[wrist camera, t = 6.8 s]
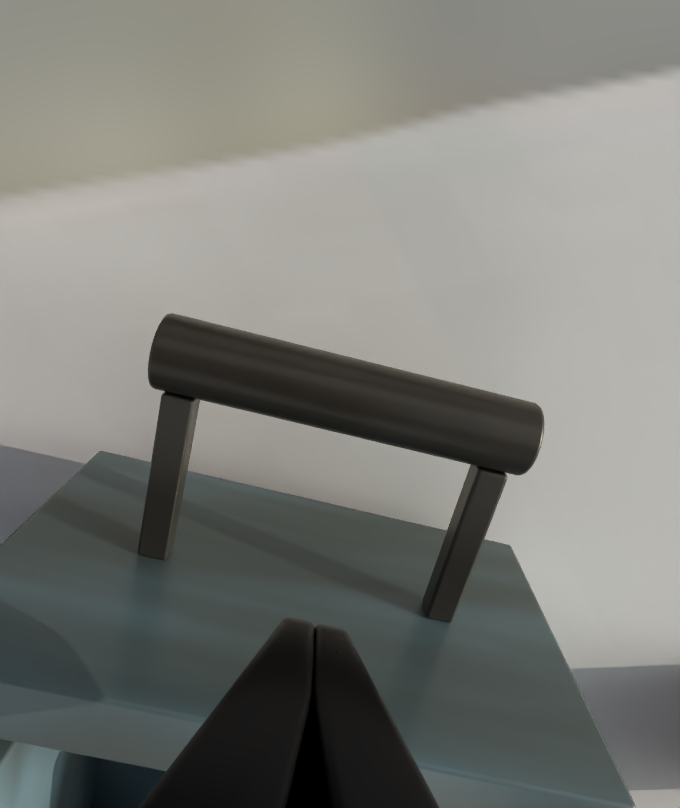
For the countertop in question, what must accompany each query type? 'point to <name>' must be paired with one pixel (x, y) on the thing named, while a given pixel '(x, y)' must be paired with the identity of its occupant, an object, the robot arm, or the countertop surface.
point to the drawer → (285, 592)
